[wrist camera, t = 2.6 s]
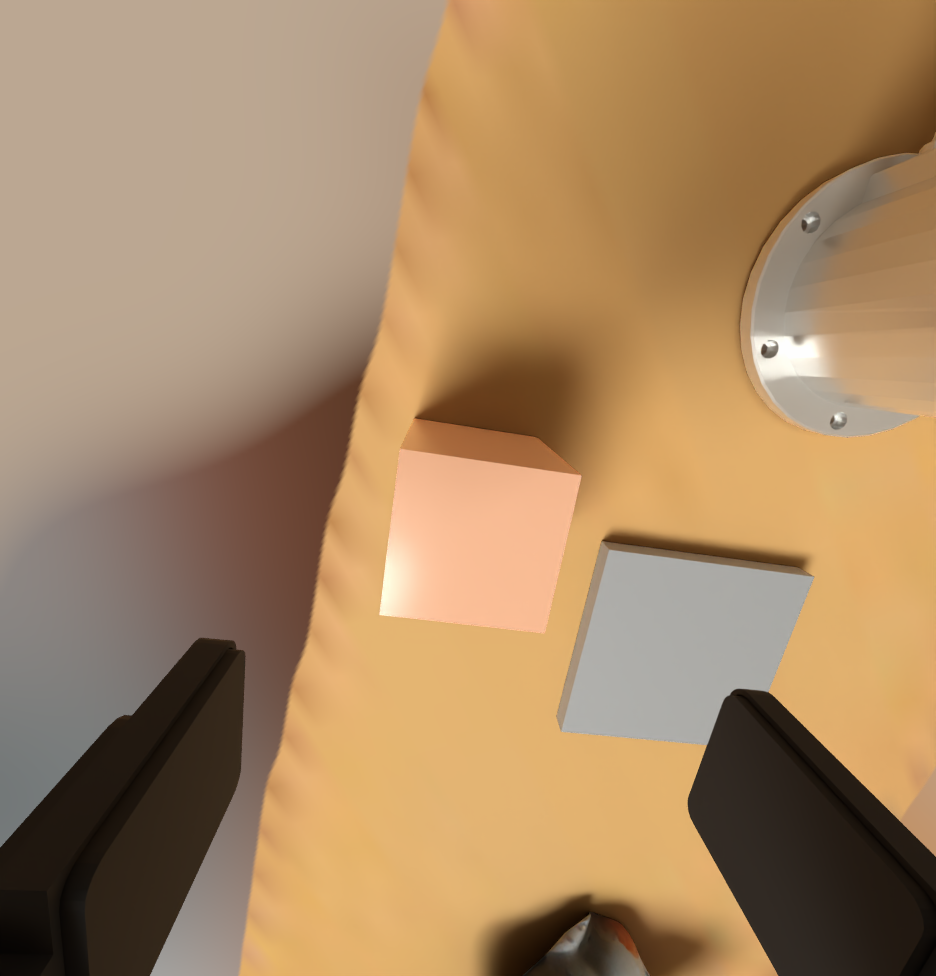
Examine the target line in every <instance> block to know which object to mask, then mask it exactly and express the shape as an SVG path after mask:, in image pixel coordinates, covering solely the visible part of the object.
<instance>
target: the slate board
mask: <svg viewBox="0 0 936 976" xmlns="http://www.w3.org/2000/svg"><path fill="white" fill-rule="evenodd" d="M813 579H814V576H812V575H810V574H809V573H807V572H805V571H803V570H802V569H800V568H798V567H791V566H784V565H777V564H769V563H762V562H754V561H747V560H739V559H732V558H724V557H717V556H709V555H702V554H694V553H687V552H679V551H672V550H664V549H657V548H649V547H642V546H634V545H627V544H619V543H612V542H605V541H602V542H601V546H600V549H599V553H598V557H597V561H596V565H595V569H594V573H593V577H592V580H591V584H590V588H589V592H588V596H587V600H586V604H585V608H584V612H583V615H582V619H581V623H580V627H579V631H578V635H577V639H576V643H575V647H574V650H573V654H572V658H571V662H570V666H569V670H568V674H567V678H566V681H565V685H564V689H563V693H562V697H561V701H560V705H559V709H558V713H557V716H556V717H557V720H558V723H559V726H560V729H561V732H570V733H581V734H592V735H603V736H614V737H625V738H636V739H646V740H657V741H668V742H679V743H690V744H701V745H707V744H708V742H709V739H710V736H711V733H712V730H713V728H714V725H715V722H716V719H717V717H718V714H719V711H720V708H721V705H722V703H723V700H724V699H725V697H727V696H730V694H731V692H732V691H733V690H735V689H750V690H760V691H766V692H768V691H769V689H770V686H771V684H772V681H773V679H774V676H775V674H776V671H777V669H778V666H779V664H780V661H781V659H782V656H783V654H784V651H785V649H786V646H787V644H788V641H789V639H790V636H791V634H792V631H793V629H794V626H795V624H796V621H797V619H798V616H799V614H800V611H801V609H802V606H803V604H804V601H805V599H806V596H807V594H808V591H809V589H810V586H811V584H812V581H813Z"/></svg>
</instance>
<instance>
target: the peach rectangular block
mask: <svg viewBox="0 0 936 976" xmlns="http://www.w3.org/2000/svg"><path fill="white" fill-rule="evenodd" d="M581 477H582V475H581V474H579V473H578V472H577V471H576V470H575V469H574V468H572V467H571V466H570V465H569V464H568V463H567V462H565V461H564V460H563V459H562V458H561V457H560V456H558V455H557V454H556V453H555V452H554V451H552V450H551V449H550V448H549V447H548V446H547V445H545V444H544V443H543V442H542V441H541V440H540V439H538V438H537V437H532V436H526V435H519V434H513V433H507V432H500V431H494V430H487V429H481V428H474V427H468V426H461V425H455V424H448V423H442V422H435V421H429V420H422V419H416V418H414V420H413V422H412V424H411V426H410V428H409V430H408V432H407V435H406V437H405V439H404V441H403V443H402V445H401V447H400V452H399V460H398V468H397V476H396V485H395V493H394V501H393V509H392V517H391V525H390V533H389V541H388V549H387V557H386V566H385V574H384V582H383V590H382V598H381V606H380V614H379V615H386V616H395V617H404V618H413V619H422V620H430V621H439V622H448V623H457V624H466V625H475V626H484V627H493V628H502V629H511V630H519V631H528V632H537V633H545V630H546V626H547V622H548V617H549V613H550V609H551V605H552V600H553V596H554V592H555V588H556V583H557V579H558V575H559V571H560V566H561V562H562V558H563V554H564V549H565V545H566V541H567V537H568V532H569V528H570V524H571V520H572V515H573V511H574V507H575V503H576V498H577V494H578V490H579V486H580V481H581Z"/></svg>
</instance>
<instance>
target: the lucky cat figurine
mask: <svg viewBox="0 0 936 976" xmlns="http://www.w3.org/2000/svg"><path fill="white" fill-rule="evenodd" d="M522 976H650V974H649V973H648V971H647V970H646V968H645V966H644V964H643V962H642V960H641V959H640V956H639V954H638V951H637V949H636V946H635V944H634V942H633V940H632V938H631V936H630V935H629V933H628V932H627V930H626V929H625V928H624V926H623V925H622V924H621V923H619V922H617V921H615V920H613V919H610V918H607V917H604V916H601V915H598V914H596V913H593V912H589V914H588V916H587V917H585V918H584V919H583V920H581V921H580V922H579V923H577V924H576V925H575V926H573V927H572V928H571V929H569V930H568V931H567V932H565V933H564V935H563V936H562V937H561V938H560V939H559V940H558V941H557V942H556V944H555V945H554V946H553V947H552V948H551V949H550V950H549V951H548V953H547V954H546V955H545V956H544V957H543V958H541V959H540V960H539V961H538V962H537V963H536V964H535V965H534V966H532V967H531V968H530V969H529V970H528V971H527V972H526V973H525V974H523V975H522Z"/></svg>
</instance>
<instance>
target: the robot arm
mask: <svg viewBox="0 0 936 976" xmlns="http://www.w3.org/2000/svg"><path fill="white" fill-rule="evenodd" d="M740 338H741V351H742V355H743V359H744V363H745V367H746V372H747V374H748V376H749V378H750V380H751V382H752V384H753V386H754V389H755V391H756V392H757V394H758V395H759V396H760V397H761V399H762V400H763V401H764V403H765V404H766V405H767V406H768V408H769V409H770V410H772V411H773V412H774V413H776V414H777V415H778V416H779V417H781V418H782V419H783V420H784V421H786V422H788V423H790V424H792V425H794V426H796V427H799V428H801V429H803V430H806V431H811V432H815V433H819V434H823V435H829V436H838V437H847V438H848V437H860V436H870V435H874V434H878V433H881V432H885V431H889V430H892V429H895V428H897V427H899V426H901V425H903V424H905V423H908V422H910V421H912V420H914V419H916V418H918V417H919V416H928V417H936V132H935V135H934V137H933V140H932V142H929V143H927V144H925V145H924V146H923V147H922V148H921V149H920V150H919V153H901V154H896V155H890V156H885V157H879V158H876V159H874V160H871V161H869V162H866V163H864V164H861V165H859V166H856V167H854V168H851V169H849V170H847V171H845V172H843V173H841V174H839V175H838V176H836V177H834V178H832V179H830V180H828V181H826V182H824V183H823V184H821V185H820V186H819V187H817V188H816V189H815V190H813V191H812V192H811V193H809V194H808V195H807V196H805V197H804V198H803V199H802V200H800V201H799V202H798V204H797V205H796V206H795V207H794V208H793V209H792V210H791V211H790V212H789V213H788V214H787V215H786V216H785V217H784V218H783V219H782V220H781V221H780V223H779V224H778V226H777V227H776V229H775V230H774V232H773V233H772V234H771V236H770V237H769V239H768V240H767V242H766V243H765V245H764V246H763V248H762V250H761V252H760V255H759V257H758V259H757V261H756V263H755V265H754V267H753V269H752V271H751V274H750V277H749V281H748V284H747V287H746V291H745V294H744V297H743V304H742V312H741V320H740ZM244 678H245V652H244V651H243V650H236V644H235V642H234V641H230V640H220V639H209V638H199V639H198V640H196V641H195V642H194V643H193V645H192V646H191V647H190V648H189V650H188V651H187V652H186V653H185V654H184V655H183V656H182V658H181V659H180V660H179V661H178V662H177V664H176V665H175V666H174V667H173V668H172V669H171V670H170V672H169V673H168V674H167V675H166V676H165V677H164V679H163V680H162V681H161V682H160V683H159V685H158V686H157V687H156V688H155V689H154V690H153V692H152V693H151V694H150V695H149V696H148V697H147V699H146V700H145V701H144V702H143V703H142V704H141V706H140V707H139V708H138V709H137V710H136V711H135V713H134V714H133V715H132V716H129V715H124V716H122V717H119V718H117V719H116V720H115V721H114V722H113V723H112V724H111V725H109V726H108V727H107V729H106V730H105V731H104V732H103V733H102V734H101V735H100V737H99V738H98V739H97V740H96V741H95V742H94V743H93V744H92V745H91V746H90V748H89V749H88V750H87V751H86V752H85V753H84V755H82V757H81V758H80V759H79V760H78V761H77V762H76V763H75V764H74V766H73V767H72V768H71V769H70V770H69V771H68V772H67V773H66V775H65V776H64V777H63V778H62V779H61V780H60V781H59V782H58V783H57V785H56V786H55V787H54V788H53V789H52V790H51V791H50V793H49V794H48V795H47V796H46V797H45V798H44V799H43V801H42V802H41V803H40V804H39V805H38V806H37V807H36V808H35V809H34V810H33V812H32V813H31V814H30V815H29V816H28V817H27V818H26V819H25V820H24V822H23V823H22V824H21V825H20V826H19V827H18V828H17V829H16V831H15V832H14V833H13V834H12V835H11V836H10V837H9V838H8V840H7V841H6V842H5V843H4V844H3V845H2V846H1V847H0V976H150V974H151V972H152V970H153V967H154V965H155V963H156V961H157V959H158V957H159V955H160V952H161V950H162V948H163V945H164V944H165V941H166V939H167V937H168V935H169V933H170V931H171V929H172V926H173V924H174V922H175V920H176V918H177V916H178V914H179V911H180V909H181V907H182V905H183V903H184V901H185V898H186V896H187V894H188V892H189V890H190V888H191V885H192V883H193V881H194V879H195V877H196V874H197V873H198V870H199V868H200V866H201V864H202V862H203V860H204V857H205V855H206V853H207V851H208V849H209V847H210V844H211V842H212V840H213V838H214V836H215V833H216V832H217V829H218V827H219V825H220V822H221V821H222V819H223V816H224V814H225V812H226V810H227V808H228V806H229V803H230V801H231V799H232V797H233V795H234V792H235V790H236V787H237V784H238V780H239V777H240V771H241V751H242V727H243V703H244ZM688 811H689V814H690V817H691V820H692V822H693V824H694V825H695V827H696V829H697V831H698V833H699V834H700V836H701V838H702V840H703V841H704V843H705V845H706V847H707V849H708V850H709V852H710V854H711V856H712V858H713V859H714V861H715V863H716V865H717V867H718V868H719V870H720V872H721V874H722V875H723V877H724V879H725V881H726V883H727V884H728V886H729V888H730V890H731V892H732V893H733V895H734V897H735V899H736V901H737V902H738V904H739V906H740V908H741V909H742V911H743V913H744V915H745V917H746V918H747V920H748V922H749V924H750V926H751V927H752V929H753V931H754V933H755V934H756V936H757V938H758V940H759V942H760V943H761V945H762V947H763V949H764V951H765V952H766V954H767V956H768V958H769V960H770V961H771V963H772V965H773V967H774V968H775V970H776V972H777V974H778V976H936V857H935V856H934V855H933V854H932V853H931V852H930V851H929V850H928V849H927V848H926V847H925V846H924V845H923V844H922V843H921V842H920V841H919V840H918V839H917V838H916V837H915V836H914V835H913V834H912V833H911V832H910V831H909V830H908V829H907V828H906V827H905V826H904V825H903V824H902V823H901V822H900V821H899V820H898V819H897V818H896V817H895V816H894V815H893V814H892V813H891V812H890V811H889V810H888V809H887V808H886V807H885V806H884V805H883V804H882V803H881V802H880V801H879V800H878V799H877V798H876V797H875V796H874V795H873V794H872V793H871V792H870V791H869V790H868V789H867V788H866V787H865V786H864V785H863V784H862V783H861V782H860V781H859V780H858V779H857V778H856V777H855V776H854V775H853V774H852V773H851V772H850V771H849V770H848V769H847V768H846V767H844V766H843V765H842V764H841V763H840V762H839V761H838V760H837V759H836V758H835V757H834V756H833V755H832V754H831V753H830V752H829V751H828V750H827V749H826V748H825V747H824V746H823V745H822V744H821V743H820V742H819V741H818V740H817V739H816V738H815V737H814V736H813V735H812V734H811V733H810V732H809V731H808V730H807V729H806V728H805V727H804V726H803V725H802V724H801V723H800V722H799V721H798V720H797V719H796V718H795V717H794V716H793V715H792V714H791V713H790V712H789V711H788V710H787V709H786V708H785V707H784V706H783V705H782V704H781V703H780V702H779V701H778V700H777V699H776V698H775V697H774V696H773V695H771V694H770V693H769V692H766V691H760V690H750V689H735V690H733V691H732V692H731V694H730V696H727V697H725V699H724V700H723V703H722V705H721V708H720V711H719V714H718V717H717V719H716V722H715V725H714V728H713V730H712V733H711V736H710V739H709V742H708V744H707V747H706V750H705V753H704V755H703V758H702V761H701V764H700V767H699V769H698V772H697V775H696V778H695V780H694V783H693V786H692V789H691V791H690V794H689V797H688Z"/></svg>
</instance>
